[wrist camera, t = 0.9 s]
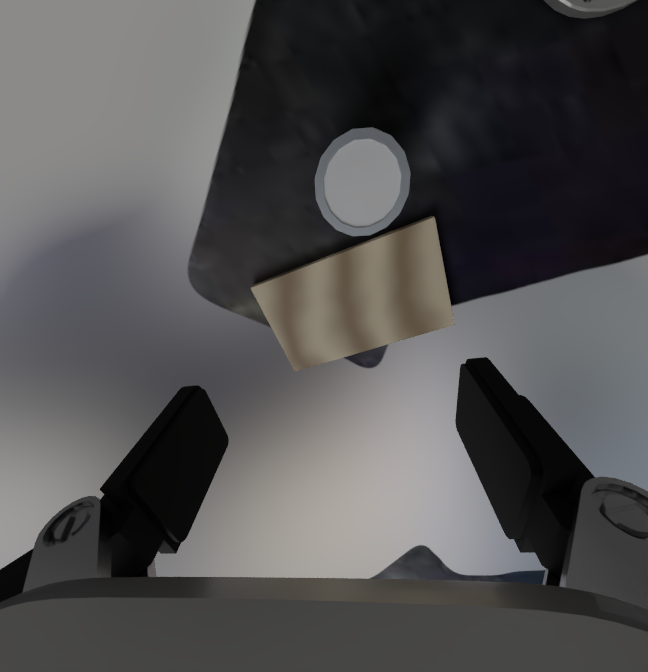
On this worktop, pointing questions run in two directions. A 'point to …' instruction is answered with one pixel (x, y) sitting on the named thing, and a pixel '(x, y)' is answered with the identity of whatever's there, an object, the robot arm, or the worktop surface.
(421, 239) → the birch board
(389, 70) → the worktop surface
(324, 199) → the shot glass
